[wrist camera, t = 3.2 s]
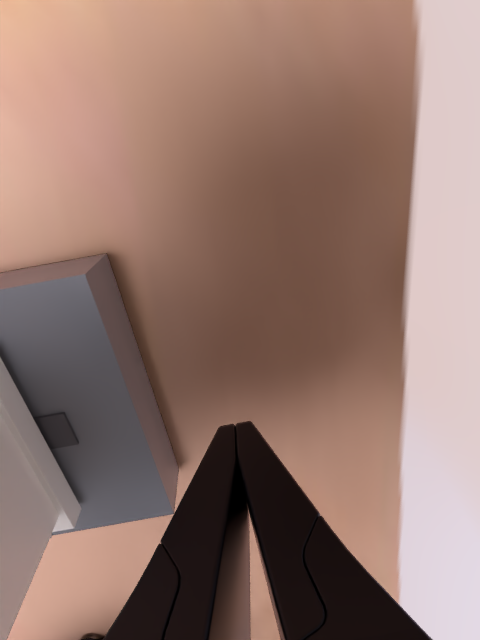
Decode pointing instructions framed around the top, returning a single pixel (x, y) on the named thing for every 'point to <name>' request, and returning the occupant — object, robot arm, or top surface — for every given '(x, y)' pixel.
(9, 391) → the fader knob
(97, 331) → the fader track
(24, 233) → the top surface
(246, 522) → the robot arm
